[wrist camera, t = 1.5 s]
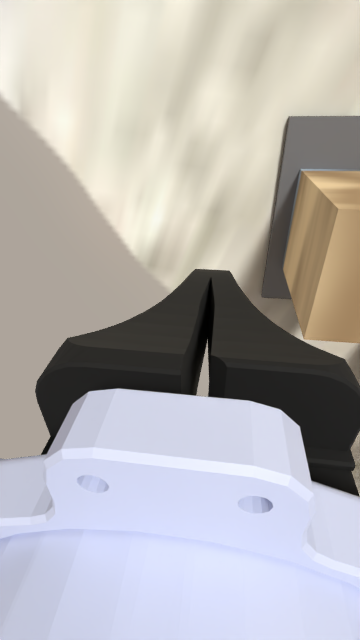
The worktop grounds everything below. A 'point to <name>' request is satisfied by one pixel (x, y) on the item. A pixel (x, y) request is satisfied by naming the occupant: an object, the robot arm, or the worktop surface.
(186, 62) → the worktop surface
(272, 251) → the grey flat rectangular piece
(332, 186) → the oak block
